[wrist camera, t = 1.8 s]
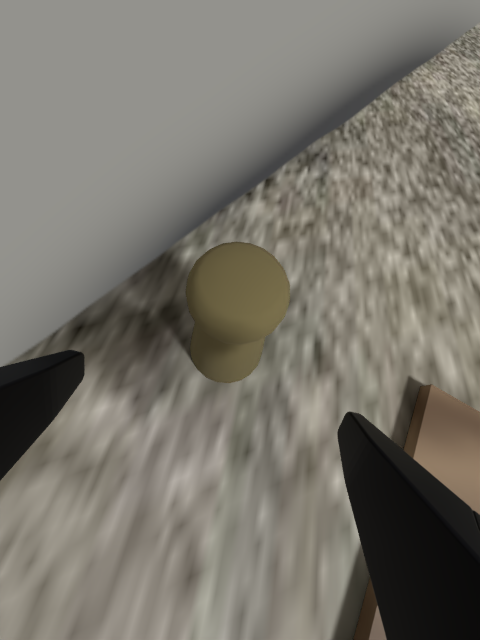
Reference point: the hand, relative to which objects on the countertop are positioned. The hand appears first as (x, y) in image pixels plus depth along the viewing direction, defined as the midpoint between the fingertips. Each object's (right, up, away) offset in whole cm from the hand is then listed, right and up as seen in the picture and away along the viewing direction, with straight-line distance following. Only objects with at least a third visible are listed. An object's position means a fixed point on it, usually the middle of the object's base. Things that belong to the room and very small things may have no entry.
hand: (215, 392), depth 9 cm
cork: (0, 0, +13) cm, 13 cm away
